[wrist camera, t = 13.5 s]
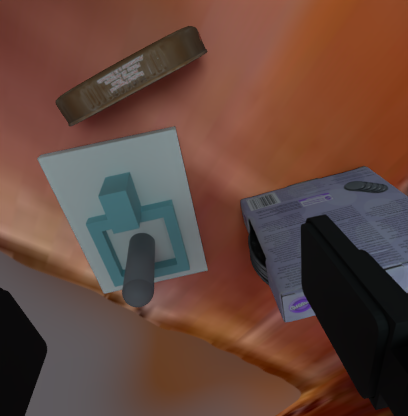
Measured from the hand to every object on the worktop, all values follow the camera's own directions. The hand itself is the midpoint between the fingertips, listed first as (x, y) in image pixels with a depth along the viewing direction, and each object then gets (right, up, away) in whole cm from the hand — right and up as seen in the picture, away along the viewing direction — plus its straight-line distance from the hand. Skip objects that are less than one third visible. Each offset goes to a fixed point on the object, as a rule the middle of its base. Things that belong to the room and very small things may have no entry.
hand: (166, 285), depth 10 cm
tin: (-6, +17, +22) cm, 29 cm away
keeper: (-8, +1, +31) cm, 32 cm away
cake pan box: (+15, +4, +33) cm, 36 cm away
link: (-8, 0, +30) cm, 31 cm away
